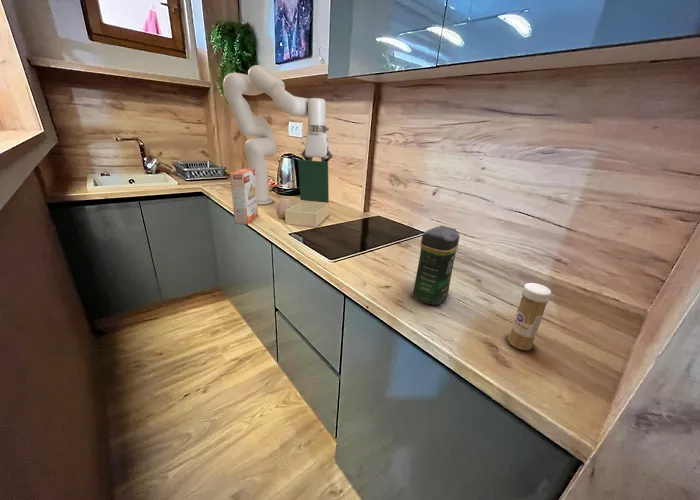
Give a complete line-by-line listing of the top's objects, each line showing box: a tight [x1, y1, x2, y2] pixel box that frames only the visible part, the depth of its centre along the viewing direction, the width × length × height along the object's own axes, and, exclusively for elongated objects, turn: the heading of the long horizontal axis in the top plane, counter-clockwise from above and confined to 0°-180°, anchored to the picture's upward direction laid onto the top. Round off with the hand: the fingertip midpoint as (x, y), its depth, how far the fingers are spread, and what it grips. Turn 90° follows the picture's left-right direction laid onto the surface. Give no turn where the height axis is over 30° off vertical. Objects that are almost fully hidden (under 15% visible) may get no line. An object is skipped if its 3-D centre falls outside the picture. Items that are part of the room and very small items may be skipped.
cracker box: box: [229, 168, 259, 226], centre depth 127 cm, size 14×6×21 cm, turn 179°
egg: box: [276, 201, 289, 219], centre depth 134 cm, size 5×5×7 cm
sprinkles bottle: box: [507, 282, 552, 351], centre depth 60 cm, size 5×5×14 cm
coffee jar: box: [412, 225, 460, 306], centre depth 76 cm, size 10×8×19 cm
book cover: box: [297, 159, 330, 204], centre depth 139 cm, size 18×14×6 cm
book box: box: [284, 200, 329, 228], centre depth 134 cm, size 18×14×6 cm
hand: (316, 171), depth 139 cm, fingers closed on book cover, 5 cm apart
